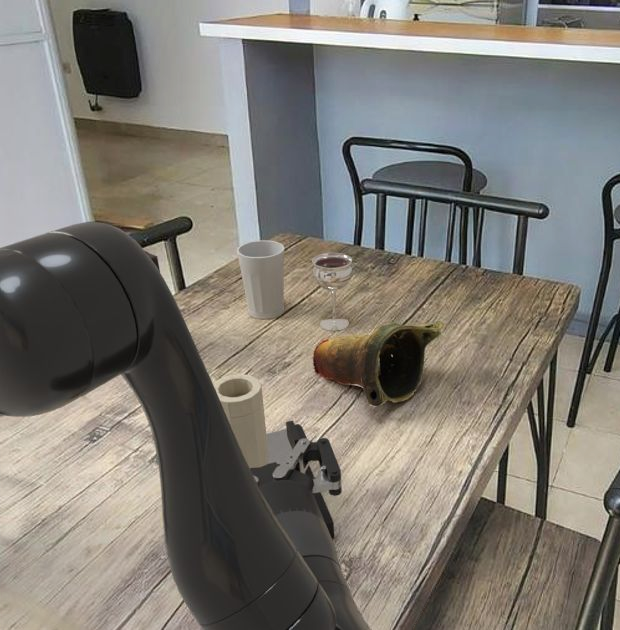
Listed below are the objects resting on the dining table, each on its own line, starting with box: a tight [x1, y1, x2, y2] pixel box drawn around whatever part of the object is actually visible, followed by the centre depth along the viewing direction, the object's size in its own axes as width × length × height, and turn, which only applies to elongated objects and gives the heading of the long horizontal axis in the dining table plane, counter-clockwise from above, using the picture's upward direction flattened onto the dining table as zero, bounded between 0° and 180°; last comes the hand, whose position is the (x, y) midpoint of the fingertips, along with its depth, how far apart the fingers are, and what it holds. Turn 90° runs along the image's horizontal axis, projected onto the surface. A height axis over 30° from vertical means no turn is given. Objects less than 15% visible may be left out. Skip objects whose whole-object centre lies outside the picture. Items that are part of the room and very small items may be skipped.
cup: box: [236, 239, 285, 320], centre depth 120 cm, size 8×8×12 cm
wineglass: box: [311, 252, 354, 332], centre depth 116 cm, size 7×7×12 cm
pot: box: [312, 320, 446, 408], centre depth 101 cm, size 17×11×18 cm
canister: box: [212, 373, 269, 468], centre depth 77 cm, size 5×6×12 cm
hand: (248, 437), depth 70 cm, fingers open, 8 cm apart
